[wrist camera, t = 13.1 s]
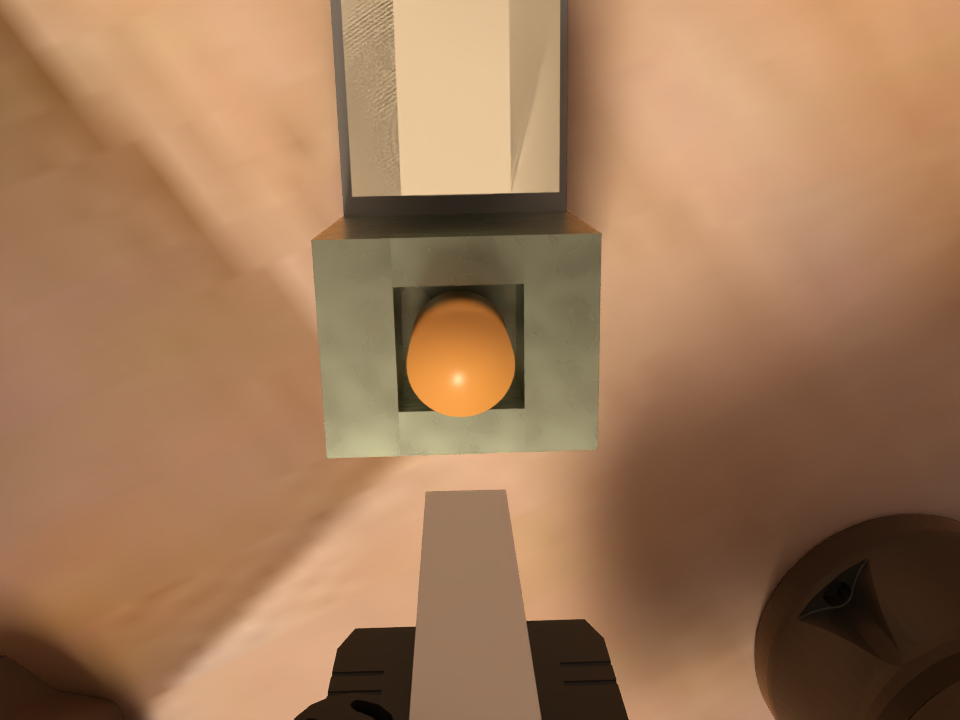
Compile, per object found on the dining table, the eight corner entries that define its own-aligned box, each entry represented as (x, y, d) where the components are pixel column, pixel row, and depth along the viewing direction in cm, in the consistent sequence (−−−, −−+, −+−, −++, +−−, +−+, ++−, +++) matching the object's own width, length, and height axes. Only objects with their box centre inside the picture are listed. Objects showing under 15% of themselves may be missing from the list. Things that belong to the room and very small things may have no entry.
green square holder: (563, 209, 38) (601, 233, 29) (562, 375, 41) (597, 449, 31) (346, 214, 38) (311, 240, 29) (356, 381, 40) (326, 458, 31)
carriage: (531, 33, 35) (560, -5, 26) (531, 178, 37) (559, 191, 27) (369, 35, 35) (340, -1, 26) (377, 181, 37) (352, 196, 27)
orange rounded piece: (506, 287, 31) (514, 310, 27) (507, 379, 32) (515, 415, 28) (410, 290, 31) (404, 313, 27) (414, 382, 32) (408, 418, 28)
